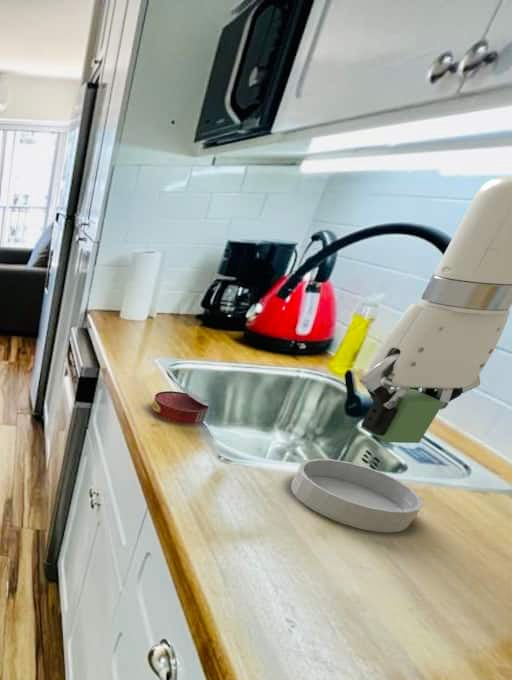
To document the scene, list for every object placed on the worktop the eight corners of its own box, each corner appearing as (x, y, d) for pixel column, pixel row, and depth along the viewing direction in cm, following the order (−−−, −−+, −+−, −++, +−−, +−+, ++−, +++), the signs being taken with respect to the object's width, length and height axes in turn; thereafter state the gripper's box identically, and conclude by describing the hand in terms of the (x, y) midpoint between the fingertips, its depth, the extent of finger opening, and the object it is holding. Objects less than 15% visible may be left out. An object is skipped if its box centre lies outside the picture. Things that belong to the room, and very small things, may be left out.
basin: (358, 478, 78) (368, 460, 76) (437, 534, 66) (452, 514, 64) (271, 475, 78) (279, 457, 76) (333, 530, 66) (345, 510, 64)
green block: (391, 428, 68) (413, 389, 65) (419, 443, 64) (444, 402, 61) (360, 427, 68) (380, 388, 65) (385, 442, 64) (408, 401, 61)
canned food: (154, 422, 105) (170, 378, 104) (205, 434, 98) (222, 387, 97) (139, 413, 96) (155, 365, 96) (193, 425, 90) (211, 373, 89)
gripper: (508, 289, 60) (429, 420, 69) (370, 288, 60) (309, 418, 69) (578, 303, 53) (480, 446, 62) (423, 301, 54) (348, 443, 63)
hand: (391, 430), depth 66 cm, fingers closed on green block, 4 cm apart
